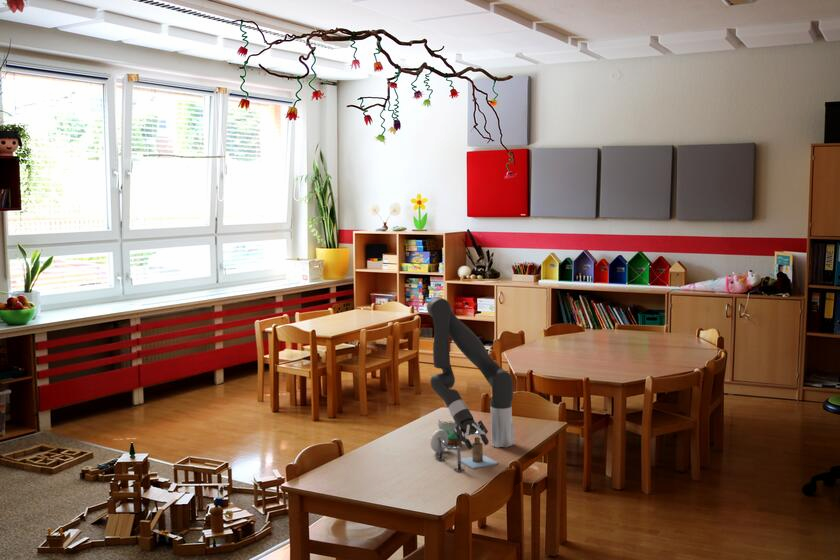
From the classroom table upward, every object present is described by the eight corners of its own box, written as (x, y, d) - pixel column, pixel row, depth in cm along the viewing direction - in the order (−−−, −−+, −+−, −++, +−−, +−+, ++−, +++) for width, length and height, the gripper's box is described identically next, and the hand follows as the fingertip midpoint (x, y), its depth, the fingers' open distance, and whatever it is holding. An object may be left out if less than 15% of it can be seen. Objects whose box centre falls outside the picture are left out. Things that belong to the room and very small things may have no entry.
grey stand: (441, 458, 330) (441, 435, 329) (464, 471, 313) (463, 446, 312) (435, 459, 328) (434, 436, 327) (457, 472, 311) (457, 448, 310)
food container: (433, 445, 348) (433, 422, 347) (438, 441, 354) (438, 419, 353) (460, 447, 343) (459, 424, 343) (464, 443, 349) (464, 421, 348)
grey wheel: (435, 456, 333) (434, 432, 332) (429, 454, 335) (428, 431, 334) (450, 450, 340) (449, 427, 339) (443, 448, 342) (443, 426, 342)
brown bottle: (479, 458, 326) (479, 436, 325) (484, 461, 322) (484, 438, 321) (470, 460, 324) (470, 437, 323) (475, 463, 320) (475, 440, 319)
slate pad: (482, 456, 331) (482, 454, 331) (498, 463, 320) (498, 462, 320) (457, 460, 325) (457, 459, 325) (472, 469, 315) (472, 467, 315)
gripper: (451, 411, 323) (469, 444, 315) (477, 405, 331) (496, 437, 323) (443, 421, 328) (461, 454, 320) (469, 415, 336) (488, 447, 328)
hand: (479, 446), depth 321 cm, fingers open, 8 cm apart
